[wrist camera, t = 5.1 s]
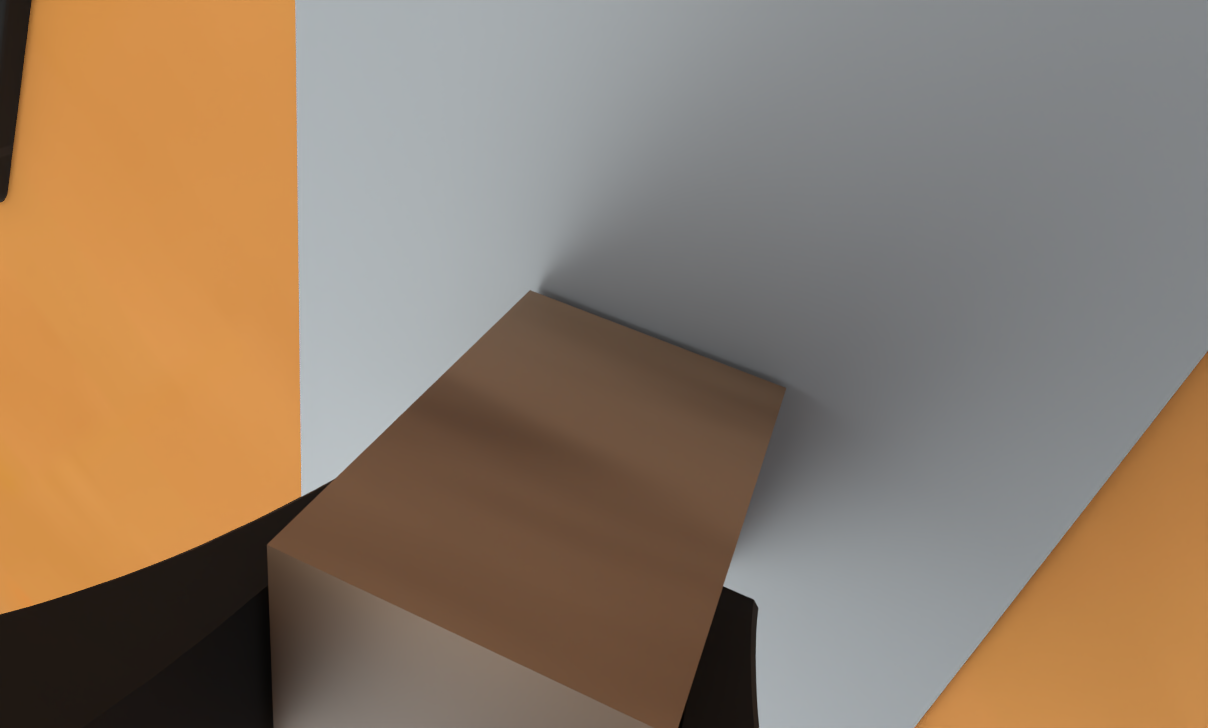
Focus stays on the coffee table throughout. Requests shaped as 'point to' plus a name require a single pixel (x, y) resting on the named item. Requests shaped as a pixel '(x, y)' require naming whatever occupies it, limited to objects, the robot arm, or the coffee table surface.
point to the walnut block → (524, 538)
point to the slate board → (787, 267)
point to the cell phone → (10, 78)
